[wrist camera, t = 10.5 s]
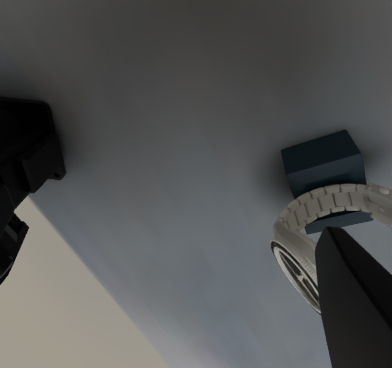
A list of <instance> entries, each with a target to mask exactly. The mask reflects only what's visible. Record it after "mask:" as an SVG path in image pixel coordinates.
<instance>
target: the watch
mask: <svg viewBox="0 0 392 368" xmlns="http://www.w3.org/2000/svg"><path fill="white" fill-rule="evenodd" d="M281 153H282V157H283V162H284V166H285V171H286V175H287V178H288V181H289V184H290V187H291V190H292V193H293V195H294V198H295V200H293V201H292V202H291V203H289V204H288V205H287V206H286V208H285V209H284V210H283V211H282V212H281V213H280V215H279V216H278V219H277V220H276V222H275V224H274V225H273V230H274V234H275V237H274V238H273V239H272V240H271V241H270V245H271V249H272V252H273V254H274V256H275V258H276V260H277V262H278V263H279V265H280V267H281V268H282V270H283V272H284V273H285V275H286V276H287V277H288V279H289V280H290V282H291V283H292V284H293V286H294V287H295V288H296V290H297V291H298V292H299V293H300V294H301V296H302V297H303V298H304V299H305V300H306V301H307V302H308V303H309V305H310V306H311V307H312V308H313V309H314V310H315V311H317V312H318V313H319V314H320V315H321V311H320V306H319V297H318V285H317V274H316V263H315V247H316V245H317V244H316V243H315V242H314V241H313V240H311V239H310V238H309V237H307V236H306V235H304V234H303V233H301V232H300V231H301V230H302V229H303V228H304V227H305V230H306V233H307V234H312V233H316V232H321V231H323V229H324V228H325V227H326V226H333V227H344V226H349V225H353V224H358V223H363V222H367V221H372V220H373V219H375V220H378V221H380V222H382V223H384V224H386V225H388V226H390V227H391V228H392V190H390V189H387V188H384V187H382V186H379V185H375V184H372V183H369V186H368V185H367V183H366V178H365V172H364V166H363V161H362V155H361V152H360V151H359V149H358V148H357V146H356V145H355V143H354V141H353V140H352V138H351V137H350V135H349V134H348V132H347V131H346V130H343V131H340V132H337V133H334V134H330V135H327V136H324V137H321V138H318V139H315V140H311V141H308V142H305V143H302V144H299V145H296V146H292V147H289V148H286V149H283V150H281Z"/></svg>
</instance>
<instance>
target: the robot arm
mask: <svg viewBox="0 0 392 368" xmlns="http://www.w3.org/2000/svg"><path fill="white" fill-rule="evenodd" d="M40 107H41V108H42V109H43V110H44V112H43V111H41V109H40ZM57 173H59V174H60V175H59V174H57ZM64 176H65V170H64V166H63V157H62V153H61V149H60V144H59V140H58V136H57V133H56V132H55V128H54V124H53V120H52V115H51V111H50V108H49V106H48V105H47V104H46V103H44V102H41V101H32V100H23V99H14V98H5V97H0V285H1V283H2V282H3V281H4V280H5V278H6V277H7V276H8V274H9V272H10V270H11V268H12V266H13V264H14V261H15V259H16V257H17V254H18V252H19V250H20V247H21V245H22V243H23V240H24V238H25V236H26V234H27V231H28V229H29V227H28V226H27V225H26V223H25V222H23V221H21V220H20V219H19V218H18V217H17V216H16V214H15V213H14V210H15V209H16V208H17V206H18V205H19V204H20V203H21V202H22V201H23V200H24V199H25V198H26V197H27V196H28V195H29V193H35V192H36V191H37V190H38V189H39V188H40V187H41V186H42V185H43V184H44V182H45V181H46V180H47V179H55V180H61V179H62V178H63V177H64ZM315 263H316V274H317V285H318V297H319V306H320V311H321V317H322V322H323V326H324V331H325V336H326V341H327V346H328V350H329V355H330V360H331V365H332V368H392V275H391V274H390V273H389V272H388V271H387V270H386V269H385V268H384V267H383V266H382V265H381V264H380V263H379V262H378V261H377V260H375V259H374V258H373V257H372V256H371V255H370V254H369V253H368V252H367V251H366V250H365V249H364V248H363V247H362V246H361V245H360V244H359V243H358V242H357V241H355V240H354V239H353V238H352V237H351V236H350V235H349V234H348V233H347V232H346V231H345V230H344V229H342V228H340V227H333V226H326V227H325V228H324V229H323V231H322V233H321V236H320V238H319V240H318V242H317V245H316V247H315Z"/></svg>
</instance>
